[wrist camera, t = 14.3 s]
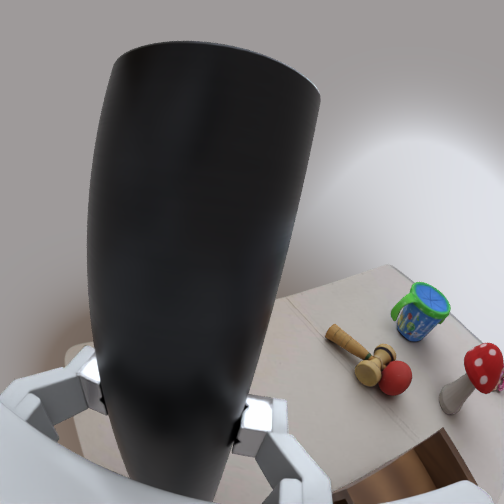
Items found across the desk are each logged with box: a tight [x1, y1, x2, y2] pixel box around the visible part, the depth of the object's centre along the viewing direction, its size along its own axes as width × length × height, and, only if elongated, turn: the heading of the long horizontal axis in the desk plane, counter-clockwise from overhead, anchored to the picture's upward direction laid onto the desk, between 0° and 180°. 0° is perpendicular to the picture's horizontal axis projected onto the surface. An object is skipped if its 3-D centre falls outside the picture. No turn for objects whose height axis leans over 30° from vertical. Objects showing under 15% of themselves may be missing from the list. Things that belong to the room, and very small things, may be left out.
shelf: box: [332, 428, 478, 504], centre depth 17 cm, size 12×11×12 cm
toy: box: [493, 365, 504, 391], centre depth 39 cm, size 7×6×15 cm
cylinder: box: [87, 41, 320, 502], centre depth 8 cm, size 5×5×22 cm
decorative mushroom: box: [439, 343, 503, 415], centre depth 32 cm, size 10×9×15 cm
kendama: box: [325, 324, 412, 396], centre depth 41 cm, size 8×6×18 cm
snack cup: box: [391, 282, 451, 342], centre depth 50 cm, size 16×10×10 cm
